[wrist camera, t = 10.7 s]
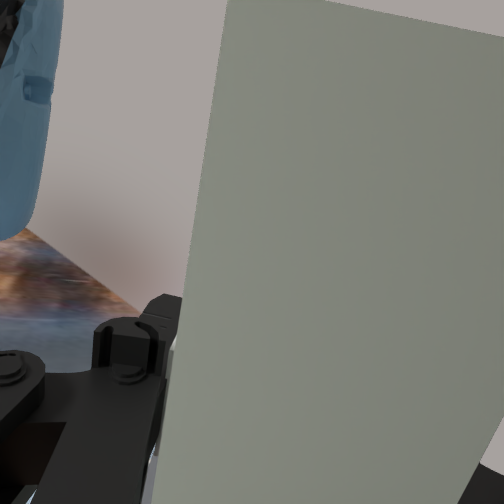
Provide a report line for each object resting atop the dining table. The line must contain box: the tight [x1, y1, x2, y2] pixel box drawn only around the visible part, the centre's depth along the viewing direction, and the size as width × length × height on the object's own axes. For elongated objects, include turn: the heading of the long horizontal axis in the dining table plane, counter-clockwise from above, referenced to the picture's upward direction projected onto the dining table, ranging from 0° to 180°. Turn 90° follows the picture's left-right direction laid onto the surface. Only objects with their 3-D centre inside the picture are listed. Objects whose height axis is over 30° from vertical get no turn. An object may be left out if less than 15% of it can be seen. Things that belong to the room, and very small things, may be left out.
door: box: [151, 0, 504, 504], centre depth 11 cm, size 10×3×16 cm, turn 174°
